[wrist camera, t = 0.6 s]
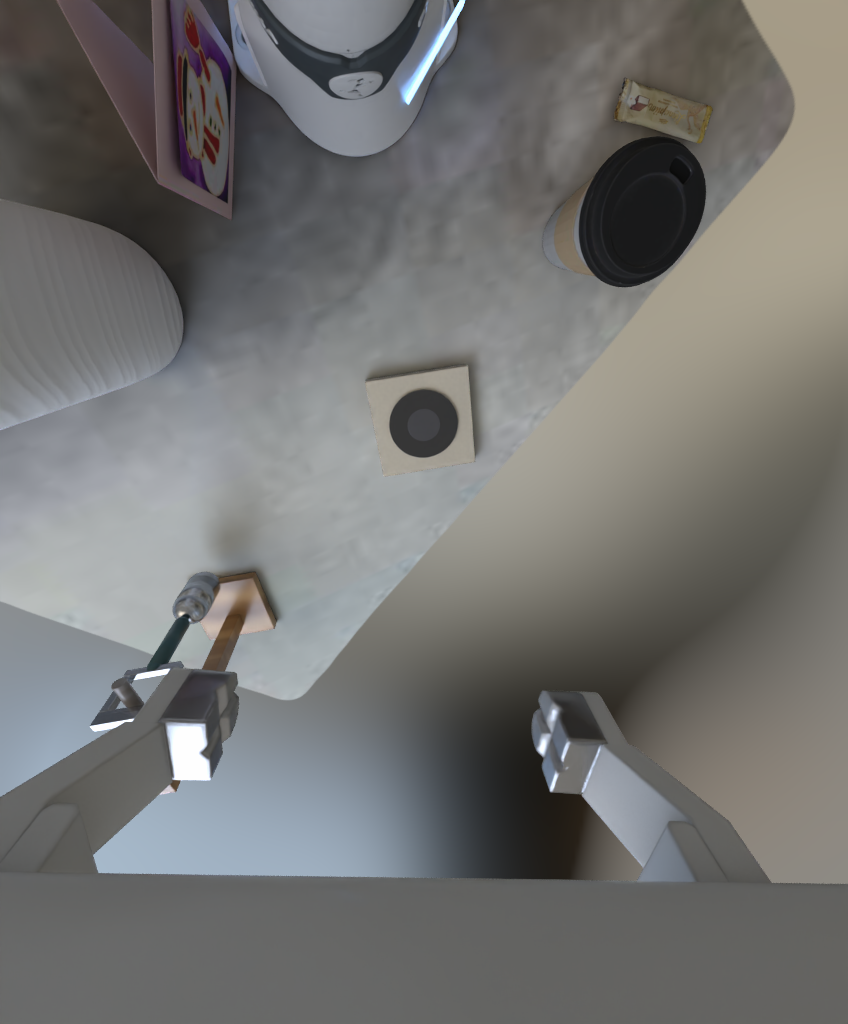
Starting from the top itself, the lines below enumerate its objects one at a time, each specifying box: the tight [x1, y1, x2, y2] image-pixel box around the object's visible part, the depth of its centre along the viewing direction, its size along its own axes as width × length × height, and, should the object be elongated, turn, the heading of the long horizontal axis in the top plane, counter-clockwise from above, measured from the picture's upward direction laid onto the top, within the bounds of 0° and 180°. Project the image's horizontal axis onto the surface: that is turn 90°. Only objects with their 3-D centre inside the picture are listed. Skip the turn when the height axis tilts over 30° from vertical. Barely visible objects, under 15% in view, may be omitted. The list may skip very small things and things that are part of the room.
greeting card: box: [56, 0, 237, 220], centre depth 30 cm, size 11×7×15 cm, turn 165°
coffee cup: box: [543, 136, 706, 287], centre depth 36 cm, size 9×9×15 cm
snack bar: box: [614, 78, 713, 143], centre depth 38 cm, size 10×2×3 cm
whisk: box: [90, 572, 221, 731], centre depth 46 cm, size 4×6×21 cm
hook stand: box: [111, 572, 276, 795], centre depth 49 cm, size 15×10×25 cm, turn 8°
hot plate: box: [365, 364, 475, 477], centre depth 50 cm, size 12×12×2 cm
